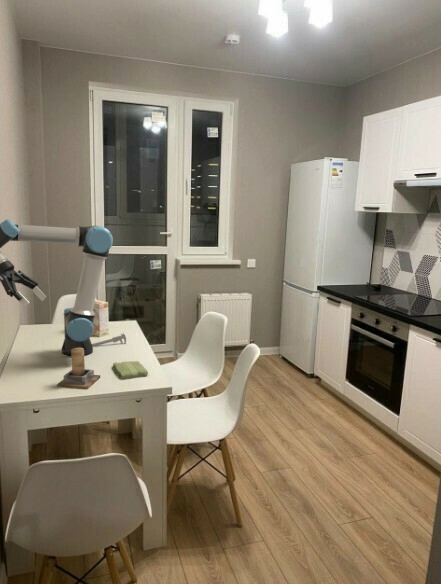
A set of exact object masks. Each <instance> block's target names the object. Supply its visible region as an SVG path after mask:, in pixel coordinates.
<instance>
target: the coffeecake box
mask: <svg viewBox="0 0 441 584" xmlns="http://www.w3.org/2000/svg"><path fill="white" fill-rule="evenodd" d="M93 311H94V313H95V318H94V323H93V327H94V331H93V334H92V336H94V337H97V338H98V337H99V338H101V337H106V336H109V335H110V332H109V331H110V330H109V329H110V328H109V324H110V323H109V302H108V301H103V300H99V299H95V302H94V307H93Z"/></svg>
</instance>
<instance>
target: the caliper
mask: <svg viewBox="0 0 441 584" xmlns="http://www.w3.org/2000/svg"><path fill="white" fill-rule="evenodd" d="M123 340H124V341H123ZM117 342H120V344H122V345H123V344H127V337H126V334H124V332H122V333H120V335H118V336H113V337H112V338H109V339H105V340H101V341H97V342H94V343H92V346H93V348H95V347H97V346H101V345H105V344H108V343H117Z"/></svg>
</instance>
